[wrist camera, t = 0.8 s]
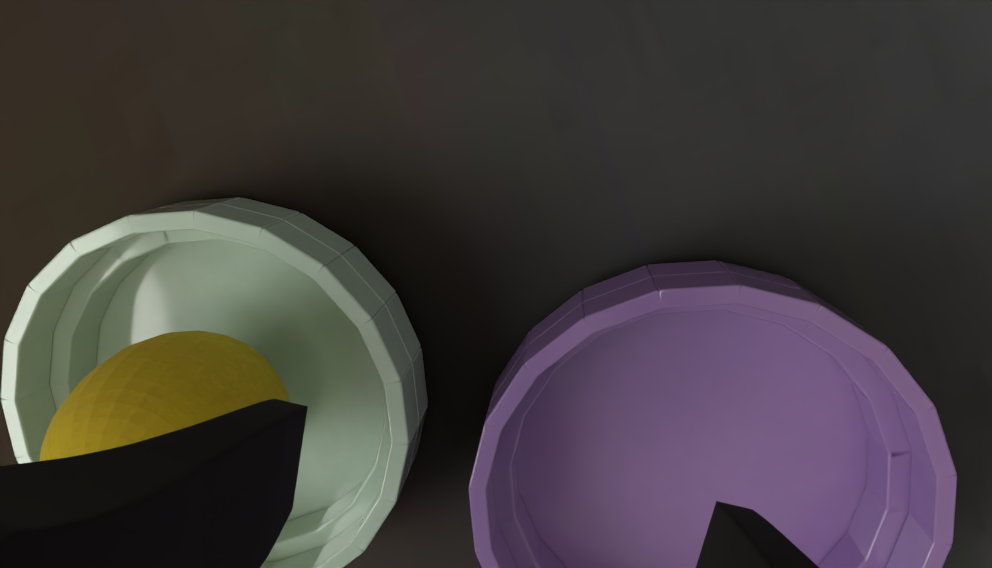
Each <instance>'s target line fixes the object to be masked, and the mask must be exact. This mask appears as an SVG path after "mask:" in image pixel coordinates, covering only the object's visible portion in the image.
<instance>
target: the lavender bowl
mask: <svg viewBox="0 0 992 568" xmlns="http://www.w3.org/2000/svg"><path fill="white" fill-rule="evenodd" d="M956 488H957V475H956V469H955V466H954V463H953V460H952V457H951V454H950V450H949V447H948V444H947V441H946V438H945V435H944V432H943V428H942V425H941V422H940V419H939V416H938V413H937V410H936V407H935V406H934V403H933V402H932V401H931V400H930V398H929V397H928V396H927V395H926V393H925V392H924V391H923V390H922V388H921V387H920V386H919V384H918V383H917V382H916V381H915V379H914V378H913V377H912V376H911V374H910V373H909V372H908V371H907V369H906V368H905V367H904V366H903V364H902V363H901V362H900V361H899V359H898V358H897V357H896V356H895V354H894V353H893V352H892V351H891V349H890V348H889V347H887V346H886V345H885V344H884V343H883V342H881V341H880V340H879V339H878V338H876V337H875V336H874V335H872V334H871V333H870V332H869V331H867V330H866V329H865V328H863V327H862V326H861V325H859V324H858V323H857V322H855V321H854V320H853V319H851V318H850V317H849V316H848V315H846V314H845V313H844V312H842V311H840V310H839V309H837V308H836V307H834V306H832V305H831V304H829V303H828V302H826V301H824V300H823V299H821V298H820V297H818V296H816V295H815V294H813V293H812V292H810V291H808V290H807V289H805V288H804V287H802V286H800V285H799V284H797V283H796V282H794V281H792V280H791V279H787V278H785V277H783V276H779V275H775V274H771V273H767V272H763V271H759V270H755V269H751V268H747V267H743V266H739V265H735V264H731V263H727V262H723V261H721V262H718V261H716V260H714V261H698V262H681V263H665V264H649V265H648V266H642V267H640V268H637V269H634V270H632V271H629V272H626V273H624V274H621V275H618V276H616V277H613V278H611V279H608V280H605V281H603V282H600V283H597V284H595V285H592V286H589V287H587V288H584V289H583V291H579V292H578V293H577V294H575V295H574V296H573V297H572V298H570V299H569V300H568V301H567V302H565V303H564V304H563V305H561V306H560V307H559V308H558V309H556V310H555V311H554V312H553V313H551V314H550V315H549V316H548V317H546V318H545V319H544V320H542V321H541V322H540V323H539V324H537V325H536V326H535V327H534V328H532V329H531V332H528V334H527V335H526V337H525V338H524V340H523V341H522V343H521V344H520V346H519V347H518V349H517V350H516V352H515V354H514V355H513V357H512V358H511V360H510V361H509V363H508V364H507V366H506V367H505V369H504V370H503V372H502V373H501V375H500V376H499V378H498V379H497V381H496V384H495V386H494V389H493V393H492V397H491V400H490V404H489V408H488V411H487V415H486V419H485V422H484V426H483V430H482V434H481V438H480V442H479V446H478V450H477V454H476V458H475V462H474V466H473V470H472V474H471V478H470V482H469V489H468V491H469V500H470V510H471V520H472V530H473V540H474V549H475V552H476V556H477V558H478V560H479V562H480V564H481V566H482V568H696V565H697V562H698V559H699V555H700V552H701V549H702V546H703V543H704V539H705V536H706V533H707V530H708V526H709V523H710V520H711V517H712V514H713V510H714V507H715V504H716V501H719V502H723V503H727V504H732V505H736V506H740V507H745V508H749V509H752V510H754V511H755V512H757V513H758V514H760V515H761V516H762V517H763V518H765V519H766V520H767V521H768V522H770V523H771V524H772V525H773V526H774V527H775V528H776V529H778V530H779V531H780V532H781V533H782V534H783V535H784V536H785V537H786V538H788V539H789V540H790V541H791V542H792V543H793V544H794V545H795V546H796V547H797V548H798V549H800V550H801V551H802V552H803V553H804V554H805V555H806V556H807V557H808V558H809V559H811V560H812V561H813V562H814V563H815V564H816V565H817V566H818V567H819V568H942V567H943V565H944V563H945V561H946V558H947V556H948V554H949V552H950V549H951V547H952V544H953V535H954V519H955V504H956Z"/></svg>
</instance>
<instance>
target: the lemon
mask: <svg viewBox="0 0 992 568" xmlns="http://www.w3.org/2000/svg"><path fill="white" fill-rule="evenodd" d="M270 399H278V400H283V401H287V402H290V401H289V397H288V393H287V391H286V389H285V387H284V385H283V383H282V381H281V379H280V377H279V375H278V373H277V372H276V370H275V369H274V368H273V367H272V366H271V364H270V363H269V362H268V361H267V360H266V358H265V357H264V356H262V355H261V354H259V353H258V352H257V351H255V350H254V349H253V348H251V347H250V346H249V345H247V344H245V343H243V342H241V341H239V340H236V339H234V338H232V337H230V336H227V335H223V334H218V333H212V332H207V331H201V330H197V331H182V332H169V333H165V334H161V335H158V336H155V337H152V338H149V339H147V340H144V341H141V342H138V343H135V344H132V345H130V346H128V347H126V348H124V349H122V350H121V351H119V352H118V353H116V354H115V355H113V356H112V357H111V358H109V359H108V360H106V361H105V362H103V363H102V364H101V365H99V366H98V367H96V368H95V369H94V370H92V371H91V372H90V373H89V374H88V375H87V376H86V377H85V378H84V379H83V380H82V381H80V383H79V384H78V385H77V386H76V387H75V388H74V390H73V391H72V392H71V393H70V395H69V396H68V397H67V399H66V400H65V401H64V403H63V404H62V405H61V407H60V408H59V409H58V411H57V412H56V414H55V415H54V416H53V418H52V421H51V423H50V425H49V427H48V430H47V433H46V435H45V438H44V441H43V443H42V447H41V452H40V461H45V460H52V459H60V458H67V457H72V456H78V455H83V454H88V453H93V452H98V451H102V450H107V449H112V448H116V447H120V446H124V445H128V444H132V443H136V442H140V441H143V440H146V439H150V438H153V437H156V436H160V435H163V434H166V433H170V432H173V431H176V430H180V429H183V428H186V427H189V426H192V425H195V424H198V423H201V422H204V421H207V420H210V419H212V418H215V417H218V416H221V415H224V414H227V413H230V412H232V411H235V410H238V409H241V408H244V407H247V406H250V405H253V404H256V403H259V402H262V401H266V400H270Z"/></svg>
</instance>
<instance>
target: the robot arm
mask: <svg viewBox="0 0 992 568" xmlns="http://www.w3.org/2000/svg"><path fill="white" fill-rule="evenodd" d="M307 408H308V406H304V405H300V404H296V403H291V402H287V401H283V400H278V399H270V400H266V401H262V402H259V403H256V404H253V405H250V406H247V407H244V408H241V409H238V410H235V411H232V412H230V413H227V414H224V415H221V416H218V417H215V418H212V419H210V420H207V421H204V422H201V423H198V424H195V425H192V426H189V427H186V428H183V429H180V430H176V431H173V432H170V433H166V434H163V435H160V436H156V437H153V438H150V439H146V440H143V441H140V442H136V443H132V444H128V445H124V446H120V447H116V448H112V449H107V450H102V451H98V452H93V453H88V454H83V455H78V456H72V457H67V458H60V459H52V460H45V461H37V462H30V463H22V464H15V465H7V466H0V568H260V567H261V566H262V564H263V563H264V561H265V560H266V558H267V557H268V555H269V554H270V552H271V550H272V548H273V546H274V544H275V542H276V541H277V539H278V537H279V535H280V533H281V531H282V529H283V527H284V525H285V523H286V521H287V519H288V517H289V515H290V513H291V511H292V509H293V503H294V496H295V489H296V482H297V476H298V469H299V462H300V456H301V449H302V442H303V435H304V429H305V422H306V415H307ZM696 568H819V567H818V566H817V565H816V564H815V563H814V562H813V561H812V560H811V559H809V558H808V557H807V556H806V555H805V554H804V553H803V552H802V551H801V550H800V549H798V548H797V547H796V546H795V545H794V544H793V543H792V542H791V541H790V540H789V539H788V538H786V537H785V536H784V535H783V534H782V533H781V532H780V531H779V530H778V529H776V528H775V527H774V526H773V525H772V524H771V523H770V522H768V521H767V520H766V519H765V518H763V517H762V516H761V515H760V514H758V513H757V512H755V511H754V510H752V509H749V508H745V507H740V506H736V505H732V504H727V503H723V502H719V501H716V504H715V507H714V510H713V514H712V517H711V520H710V523H709V526H708V530H707V533H706V536H705V539H704V543H703V546H702V549H701V552H700V555H699V559H698V562H697V565H696Z"/></svg>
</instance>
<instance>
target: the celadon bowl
mask: <svg viewBox="0 0 992 568" xmlns="http://www.w3.org/2000/svg"><path fill="white" fill-rule="evenodd" d="M197 330H201V331H207V332H212V333H218V334H223V335H227V336H230V337H232V338H234V339H236V340H239V341H241V342H243V343H245V344H247V345H249V346H250V347H251V348H253V349H254V350H255V351H257V352H258V353H259V354H261V355H262V356H264V357H265V358H266V360H267V361H268V362H269V363H270V364H271V366H272V367H273V368H274V369H275V370H276V372H277V373H278V375H279V377H280V379H281V381H282V383H283V385H284V387H285V389H286V391H287V393H288V397H289V401H290V402H291V403H296V404H300V405H304V406H308V408H307V415H306V422H305V429H304V435H303V442H302V449H301V456H300V462H299V469H298V476H297V482H296V489H295V496H294V503H293V509H292V511H291V513H290V515H289V517H288V519H287V521H286V523H285V525H284V527H283V529H282V531H281V533H280V535H279V537H278V539H277V541H276V542H275V544H274V546H273V548H272V550H271V552H270V554H269V555H268V557H267V558H266V560H265V561H264V563H263V564H262V566H261V567H260V568H343V567H345V566H346V565H347V564H349V563H350V562H351V561H353V560H354V559H355V558H357V557H358V556H359V555H361V554H362V553H363V552H364V551H365V550H366V549H367V547H368V546H369V544H370V543H371V541H372V540H373V538H374V536H375V535H376V533H377V532H378V530H379V529H380V527H381V526H382V524H383V523H384V521H385V519H386V518H387V516H388V515H389V513H390V512H391V510H392V509H393V507H394V506H395V504H396V501H397V499H398V497H399V495H400V492H401V490H402V488H403V485H404V483H405V481H406V478H407V476H408V474H409V472H410V469H411V467H412V465H413V462H414V460H415V458H416V455H417V451H418V447H419V442H420V438H421V434H422V429H423V425H424V420H425V416H426V411H427V407H428V406H427V403H428V399H427V391H426V382H425V373H424V364H423V355H422V349H421V348H420V347H421V346H420V343H419V341H418V338H417V336H416V334H415V332H414V330H413V328H412V325H411V323H410V321H409V319H408V317H407V314H406V312H405V310H404V308H403V306H402V303H401V301H400V299H399V297H398V295H397V294H396V293H395V290H394V289H393V288H392V286H391V285H390V284H389V283H388V282H387V281H386V280H385V279H384V277H383V276H382V275H381V274H380V273H379V272H378V271H377V270H376V268H375V267H374V266H373V265H372V264H371V263H370V262H369V261H368V259H367V258H366V257H365V256H364V255H363V254H362V253H361V252H360V250H359V249H358V248H357V247H356V246H354V245H353V244H352V243H350V242H349V241H347V240H345V239H344V238H342V237H341V236H339V235H337V234H336V233H334V232H332V231H331V230H329V229H327V228H326V227H324V226H322V225H321V224H319V223H318V222H316V221H314V220H313V219H311V218H309V217H308V216H306V215H304V214H303V213H299V212H298V211H294V210H290V209H286V208H282V207H278V206H274V205H270V204H266V203H262V202H258V201H254V200H250V199H246V198H240V197H234V198H221V199H208V200H195V201H183V202H179V203H175V204H171V205H167V206H163V207H159V208H155V209H151V210H147V211H144V212H140V213H136V214H132V215H128V216H125V217H123V218H120V219H118V220H116V221H114V222H112V223H109V224H107V225H105V226H103V227H100V228H98V229H96V230H94V231H92V232H89V233H87V234H85V235H83V236H80V237H78V238H76V239H74V240H72V241H71V242H69V243H68V244H67V245H66V246H65V247H64V248H63V249H62V250H61V251H60V252H59V253H58V254H57V255H56V256H55V257H54V258H53V259H52V260H51V261H50V262H49V263H48V264H47V265H46V266H45V267H44V268H43V269H42V270H41V271H40V272H39V273H38V274H37V275H36V276H35V278H34V279H33V280H32V281H31V282H30V283H29V285H28V286H27V287H26V289H25V292H24V294H23V296H22V299H21V301H20V303H19V306H18V308H17V310H16V313H15V315H14V317H13V319H12V322H11V324H10V326H9V329H8V331H7V333H6V336H5V340H4V349H3V364H2V380H1V396H0V397H1V404H2V407H3V411H4V415H5V419H6V423H7V427H8V431H9V435H10V439H11V443H12V447H13V451H14V455H15V457H16V460H17V462H18V464H22V463H30V462H37V461H40V452H41V447H42V443H43V441H44V438H45V435H46V433H47V430H48V427H49V425H50V423H51V421H52V418H53V416H54V415H55V414H56V412H57V411H58V409H59V408H60V407H61V405H62V404H63V403H64V401H65V400H66V399H67V397H68V396H69V395H70V393H71V392H72V391H73V390H74V388H75V387H76V386H77V385H78V384H79V383H80V381H82V380H83V379H84V378H85V377H86V376H87V375H88V374H89V373H90V372H91V371H92V370H94V369H95V368H96V367H98V366H99V365H101V364H102V363H103V362H105V361H106V360H108V359H109V358H111V357H112V356H113V355H115V354H116V353H118V352H119V351H121V350H122V349H124V348H126V347H128V346H130V345H132V344H135V343H138V342H141V341H144V340H147V339H149V338H152V337H155V336H158V335H161V334H165V333H169V332H182V331H197Z"/></svg>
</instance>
